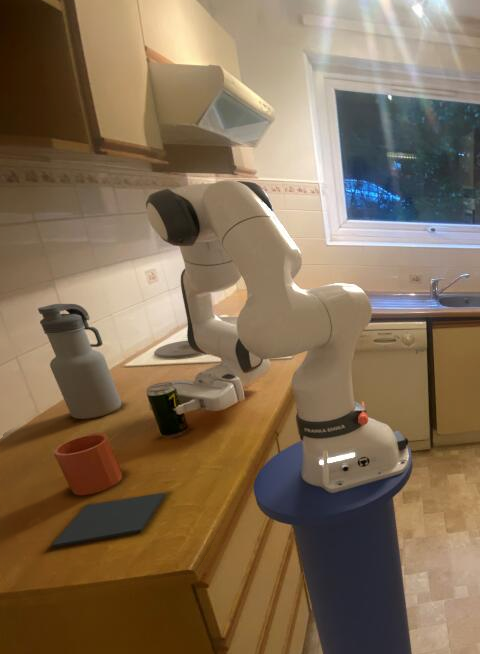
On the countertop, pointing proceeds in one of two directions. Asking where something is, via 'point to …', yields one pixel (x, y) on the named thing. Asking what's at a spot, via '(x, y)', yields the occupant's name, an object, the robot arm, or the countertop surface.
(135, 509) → the slate mat
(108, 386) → the water bottle
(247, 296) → the robot arm
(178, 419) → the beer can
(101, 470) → the terracotta cup
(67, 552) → the countertop surface
